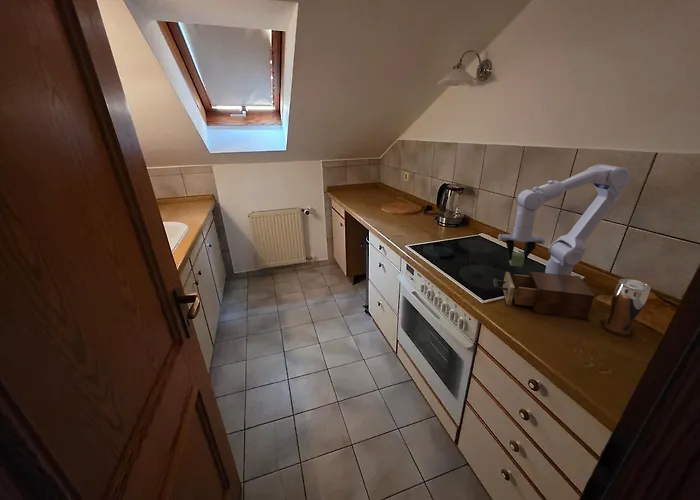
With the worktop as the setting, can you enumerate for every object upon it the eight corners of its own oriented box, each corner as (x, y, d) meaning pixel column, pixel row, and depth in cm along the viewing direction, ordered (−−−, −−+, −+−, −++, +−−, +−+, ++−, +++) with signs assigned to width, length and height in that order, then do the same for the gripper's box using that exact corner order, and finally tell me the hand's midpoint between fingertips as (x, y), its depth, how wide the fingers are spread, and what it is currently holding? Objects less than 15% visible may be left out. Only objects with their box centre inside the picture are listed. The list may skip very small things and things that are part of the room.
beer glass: (618, 320, 91) (635, 277, 85) (639, 335, 85) (659, 290, 79) (596, 321, 91) (611, 278, 85) (615, 336, 85) (633, 291, 79)
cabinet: (533, 311, 97) (539, 289, 93) (525, 292, 108) (530, 271, 104) (586, 319, 92) (594, 295, 89) (572, 298, 103) (579, 276, 100)
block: (508, 261, 113) (510, 251, 111) (520, 262, 112) (522, 252, 110) (510, 265, 109) (512, 255, 108) (522, 266, 108) (524, 256, 106)
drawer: (493, 303, 100) (496, 285, 98) (490, 286, 110) (492, 270, 108) (553, 311, 95) (558, 293, 92) (544, 293, 105) (549, 276, 102)
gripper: (544, 223, 106) (536, 257, 111) (499, 220, 110) (494, 253, 115) (550, 229, 100) (541, 265, 105) (502, 226, 104) (496, 261, 109)
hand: (516, 260), depth 110 cm, fingers closed on block, 4 cm apart
